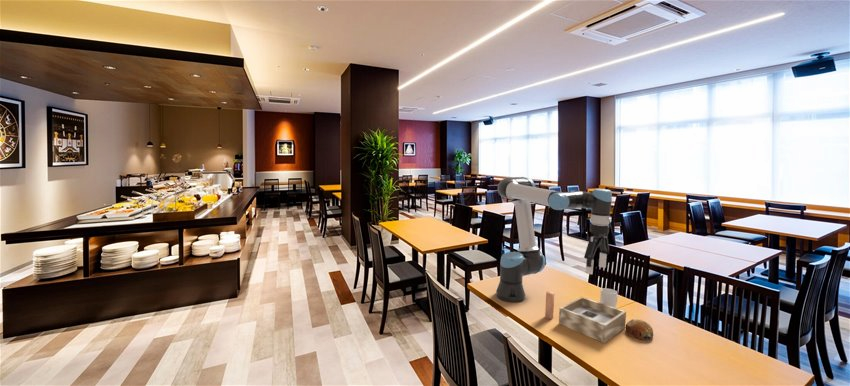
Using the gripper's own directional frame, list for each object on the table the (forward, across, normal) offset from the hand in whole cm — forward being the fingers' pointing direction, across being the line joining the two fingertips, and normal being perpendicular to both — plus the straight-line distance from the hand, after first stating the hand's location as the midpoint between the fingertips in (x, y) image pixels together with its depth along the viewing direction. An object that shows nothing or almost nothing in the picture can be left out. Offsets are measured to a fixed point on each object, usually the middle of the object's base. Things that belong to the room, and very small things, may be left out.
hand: (595, 270), depth 150 cm
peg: (+25, -12, +14) cm, 31 cm away
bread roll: (+24, +4, -18) cm, 31 cm away
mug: (+25, +14, -2) cm, 28 cm away
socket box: (+24, -4, -2) cm, 25 cm away
